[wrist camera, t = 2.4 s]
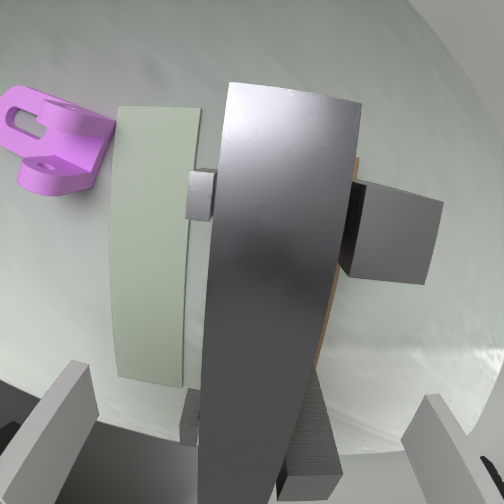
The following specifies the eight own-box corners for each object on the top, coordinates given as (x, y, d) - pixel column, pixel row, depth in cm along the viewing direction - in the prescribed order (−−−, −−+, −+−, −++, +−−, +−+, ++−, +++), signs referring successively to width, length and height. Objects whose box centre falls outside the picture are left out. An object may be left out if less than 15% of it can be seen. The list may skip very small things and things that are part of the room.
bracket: (119, 122, 22) (74, 112, 15) (92, 187, 23) (44, 199, 17) (14, 82, 20) (-35, 72, 13) (-5, 137, 22) (-56, 140, 15)
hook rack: (199, 372, 28) (172, 502, 14) (220, 137, 22) (175, 110, 9) (308, 381, 28) (335, 508, 15) (355, 157, 22) (470, 166, 9)
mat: (119, 373, 28) (118, 376, 28) (120, 107, 21) (118, 106, 21) (182, 385, 28) (181, 388, 28) (201, 109, 22) (200, 108, 21)
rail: (206, 446, 20) (197, 512, 15) (237, 110, 14) (229, 81, 8) (260, 451, 21) (262, 517, 15) (321, 122, 14) (362, 103, 9)
